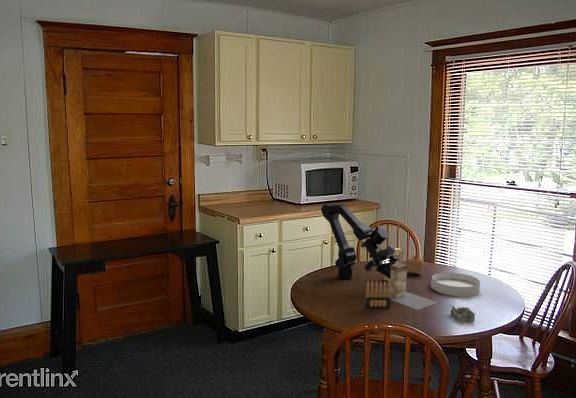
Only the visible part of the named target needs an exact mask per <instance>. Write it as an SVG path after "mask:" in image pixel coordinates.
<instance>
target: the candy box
mask: <svg viewBox="0 0 576 398" xmlns="http://www.w3.org/2000/svg"><path fill="white" fill-rule="evenodd" d="M394 248H395V247H394ZM391 255H398V257H399V258H400V259H399V260H398V261H397V262H396V263H394V264H393V265H396V264H399V263H401V264H403V259H404V257H403V256H404V249H402V248H399V247H396V248H395V252H394V254H391ZM391 255H388V256H389V257H390V256H391ZM389 257H388V258H389ZM388 258H386V259H388ZM391 266H392V265H391ZM383 277H384V278H383V280H384V281H387V282H390V283H391V279H389V278H388V277H386V276H385V275H383Z"/></svg>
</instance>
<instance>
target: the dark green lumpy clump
mask: <svg viewBox="0 0 576 398" xmlns="http://www.w3.org/2000/svg"><path fill="white" fill-rule="evenodd" d="M449 305H450V307H451V309H450V315H451V316H452V317H453V319H457V323H462V324H465V323H466V322H468V323H474V322H475V319H476V318H475V315H477V314H476V313H474V311H472V310H471V309H470V308H469V307H467V306H461V307H459V306H458V307H457V308H456V307H455V306H454V305H452V304H449Z"/></svg>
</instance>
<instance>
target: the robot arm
mask: <svg viewBox="0 0 576 398" xmlns="http://www.w3.org/2000/svg"><path fill="white" fill-rule="evenodd" d="M320 212H321V214H322V215H323V218H324V219H325V220H326V221H328V223H329V225H330V228H331V230H332V233H333V236H334V238H335V241H336V244H337V246H338V252H337V256H338V257H337V259H336V260H335V261H334V264H335V267H337V268H338V272H337V273H338V274H337V279H338V280H352V278H353V268H352V266H355V264H356V261H357V258H358V257H357V252H356V250H355V247H354V246H350V245H349V242H348V240H347V238H346V235H345V233H344V231H343V230H344V229H343V227H342V224H341V221H340V219H339V217H340V216H341V217H342V218H343V219H344V221H346V223H347V224H348V225H349V227H351V228H352V233H353V235H354V236H355V237H356V239H357V240H358V241H361V245H360V248H361V249H362V248H365V249H366V251H367V253H368V254H369V255H368V257H369V258H371V259H372V260H369V261H368V262H367V263H366V264H365V265H364V270H365V272H367V273H369V272H371V271H372V268H376V269H375V272H378V273H380V274H382V275H383V276H386V277H388V278H389V279H391V265H393V264H394V263H396V262H397V261H398V260H399V259H400V258H399V257H398V255H391V254H394V252H395V247H394V245H388V246H387V248H385V249H384V248H383V247H380V246H381V245H382V244H383V243H384V242H385V241H386V240H387V239H388V238H389V236H390V235H389V232H388V231H387V230H386V229H385V228H383V227H381V226H379V225H378V226H377V227H375V229H374V230H373V229H372V228H371V227H370V226H369V225H368V224H366V223H363V222H362V221H361V220H360V219H358V218H357V216H356V215H355V214H354V213H353V212H352V211H351V210H350V209H349V207H348V206H347V204H345V203H340V204H336V203H333V202H332V203H326V204H323V205H322V207H321V209H320ZM363 240H364V241H363ZM388 255H391V256H390V257H389V256H388ZM388 257H389V258H388ZM386 258H388V259H386Z"/></svg>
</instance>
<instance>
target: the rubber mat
mask: <svg viewBox="0 0 576 398" xmlns="http://www.w3.org/2000/svg"><path fill="white" fill-rule="evenodd" d="M382 292H383V289H382ZM386 295H387V287H386ZM390 301H393V302H395V303H397V304H401V305H404V306H406V307H409V308H412V309H415V310H417V311H419V310H421V309H424V308H427V307H430V306H433V305H435V304H438V302H437V301H435V300H431V299H429V298H426V297H423V296H420V295H417V294H415V293H410V292H407V291H406V295H405V296H402V297H399V298H395V297H392V296H390Z"/></svg>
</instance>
